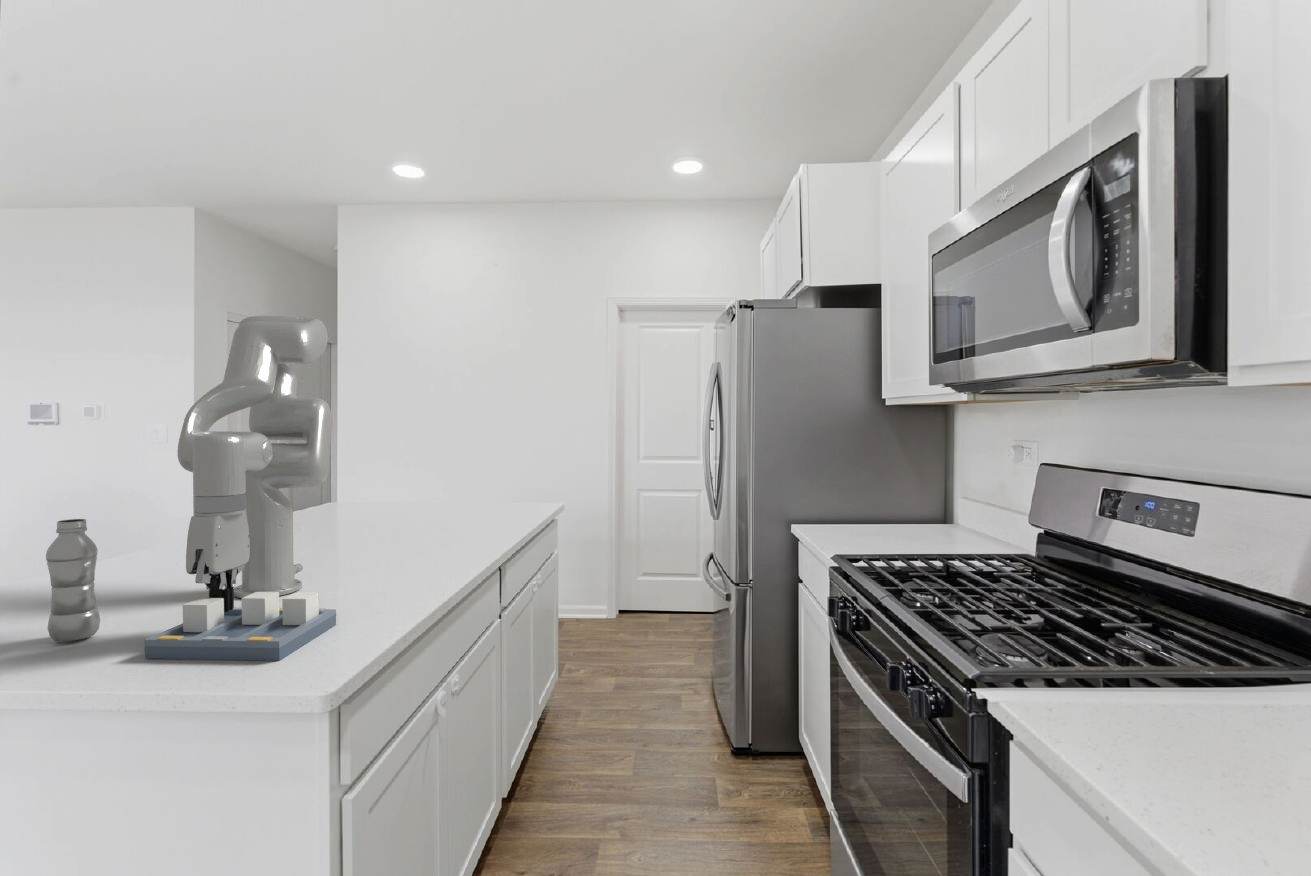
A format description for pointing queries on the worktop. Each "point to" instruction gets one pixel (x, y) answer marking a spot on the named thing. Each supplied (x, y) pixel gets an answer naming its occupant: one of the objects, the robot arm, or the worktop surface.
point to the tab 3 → (300, 607)
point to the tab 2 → (260, 608)
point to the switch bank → (239, 639)
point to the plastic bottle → (72, 583)
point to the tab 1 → (203, 614)
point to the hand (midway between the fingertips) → (221, 610)
